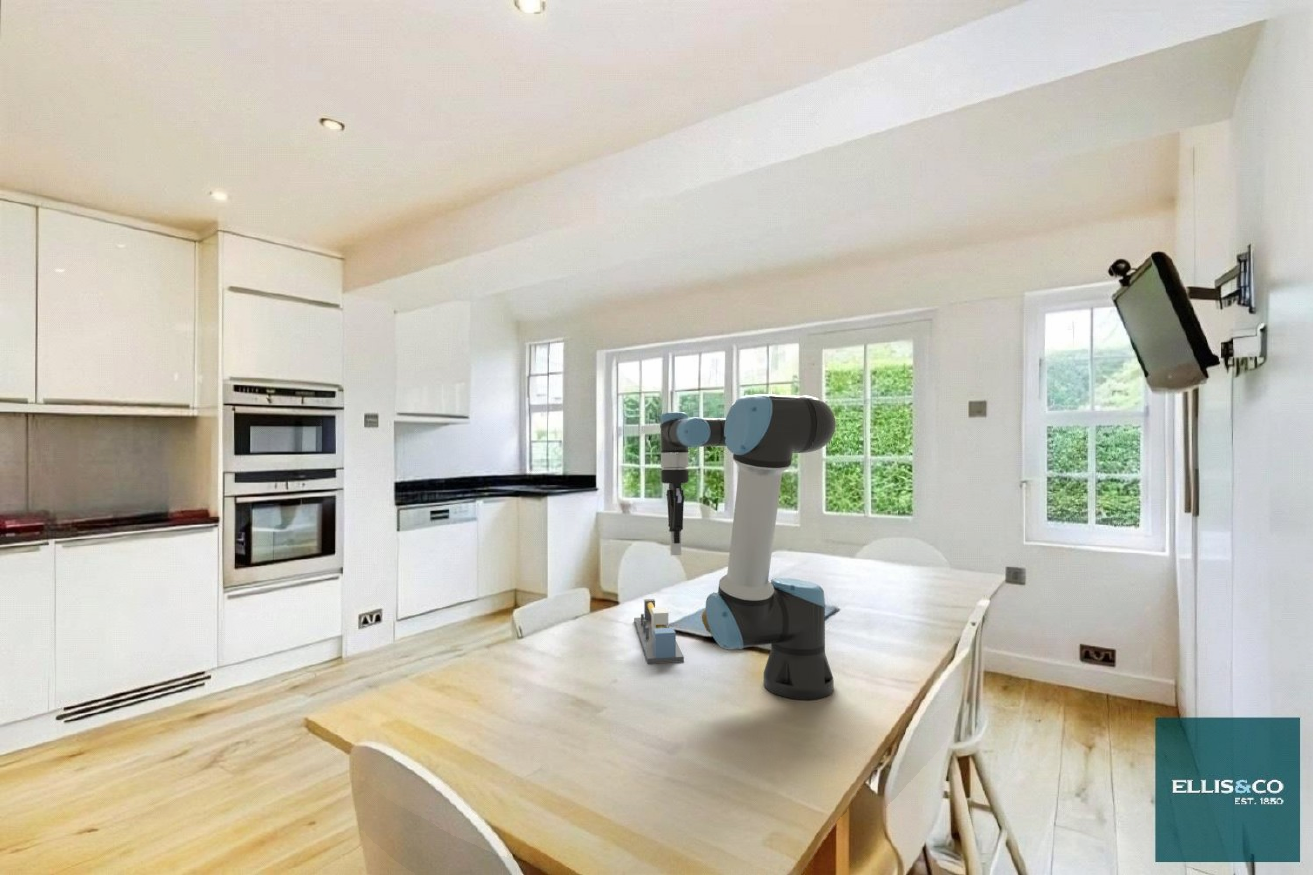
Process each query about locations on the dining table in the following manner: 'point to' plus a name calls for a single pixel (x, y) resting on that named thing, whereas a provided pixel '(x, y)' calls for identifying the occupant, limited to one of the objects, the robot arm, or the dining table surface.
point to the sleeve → (659, 617)
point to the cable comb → (657, 638)
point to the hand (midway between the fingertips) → (675, 554)
